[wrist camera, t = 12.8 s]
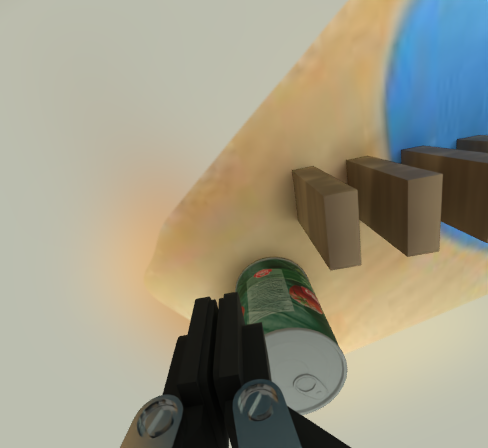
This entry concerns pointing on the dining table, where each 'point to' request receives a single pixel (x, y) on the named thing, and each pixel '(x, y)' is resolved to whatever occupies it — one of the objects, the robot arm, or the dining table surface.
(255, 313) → the canned tomato
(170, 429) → the robot arm
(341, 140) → the dining table surface
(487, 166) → the walnut domino
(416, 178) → the walnut domino
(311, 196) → the walnut domino
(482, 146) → the walnut domino
